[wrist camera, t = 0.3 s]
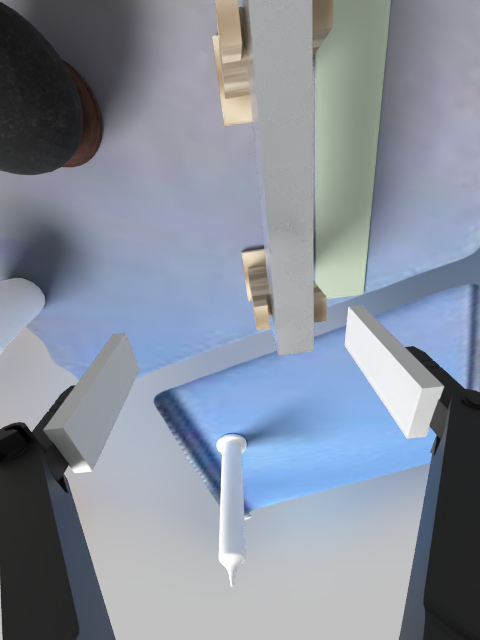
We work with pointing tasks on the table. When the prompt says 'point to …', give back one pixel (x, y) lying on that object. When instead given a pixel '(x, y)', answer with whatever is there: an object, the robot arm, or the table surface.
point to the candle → (232, 504)
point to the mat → (347, 141)
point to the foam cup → (17, 307)
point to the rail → (284, 159)
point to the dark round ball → (41, 104)
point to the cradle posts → (239, 112)
